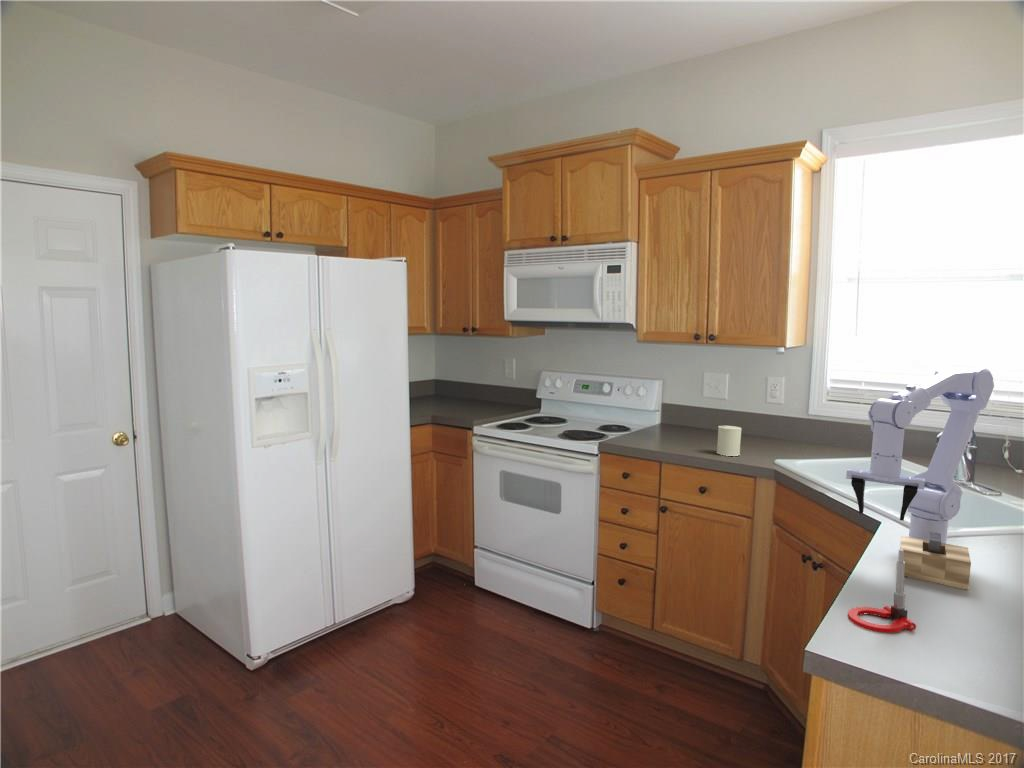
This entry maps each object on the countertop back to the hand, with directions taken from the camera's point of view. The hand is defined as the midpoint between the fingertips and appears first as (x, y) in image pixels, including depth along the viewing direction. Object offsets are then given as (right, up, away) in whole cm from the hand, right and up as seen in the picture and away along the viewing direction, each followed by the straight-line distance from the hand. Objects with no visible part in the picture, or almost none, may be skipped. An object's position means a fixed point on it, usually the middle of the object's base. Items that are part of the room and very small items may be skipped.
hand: (881, 515), depth 137 cm
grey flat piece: (+8, -10, -5) cm, 14 cm away
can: (+8, -1, +121) cm, 121 cm away
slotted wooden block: (+8, -11, -5) cm, 14 cm away
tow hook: (-17, -13, -29) cm, 36 cm away
